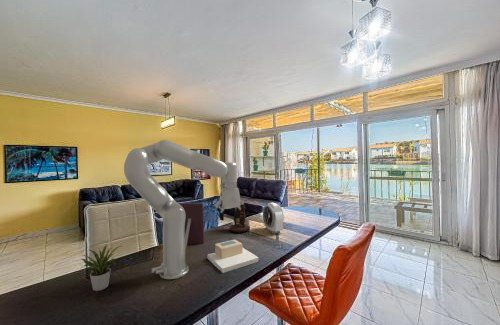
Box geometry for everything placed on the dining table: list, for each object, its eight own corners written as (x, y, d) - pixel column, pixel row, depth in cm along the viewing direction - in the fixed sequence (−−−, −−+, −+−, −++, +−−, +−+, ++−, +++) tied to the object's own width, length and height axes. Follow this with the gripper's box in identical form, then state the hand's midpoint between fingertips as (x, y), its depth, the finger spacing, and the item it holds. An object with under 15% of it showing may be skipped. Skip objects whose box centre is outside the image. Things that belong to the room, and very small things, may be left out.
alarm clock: (262, 228, 163) (261, 201, 163) (271, 227, 167) (271, 200, 167) (274, 235, 147) (274, 205, 147) (285, 233, 151) (284, 204, 150)
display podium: (222, 273, 99) (222, 268, 99) (207, 258, 114) (207, 254, 114) (258, 261, 110) (258, 257, 110) (240, 249, 125) (240, 246, 125)
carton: (221, 259, 108) (221, 248, 108) (215, 253, 115) (215, 243, 115) (242, 253, 115) (242, 243, 115) (235, 248, 122) (235, 239, 122)
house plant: (116, 272, 100) (115, 237, 100) (129, 283, 91) (128, 244, 91) (77, 287, 89) (77, 247, 89) (87, 300, 80) (87, 256, 80)
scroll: (254, 230, 159) (253, 203, 159) (238, 235, 149) (238, 206, 149) (240, 226, 170) (240, 200, 169) (225, 230, 160) (225, 203, 159)
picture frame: (204, 243, 136) (203, 202, 135) (198, 249, 126) (198, 206, 126) (178, 242, 137) (177, 202, 137) (171, 248, 127) (170, 205, 127)
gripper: (217, 187, 106) (218, 223, 106) (247, 185, 116) (247, 217, 116) (211, 186, 112) (211, 219, 112) (240, 184, 122) (240, 214, 122)
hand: (230, 218), depth 114 cm, fingers open, 9 cm apart
